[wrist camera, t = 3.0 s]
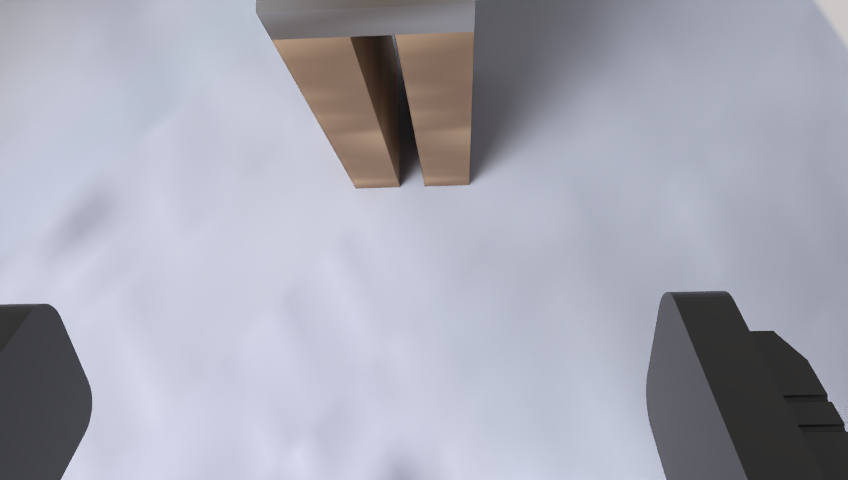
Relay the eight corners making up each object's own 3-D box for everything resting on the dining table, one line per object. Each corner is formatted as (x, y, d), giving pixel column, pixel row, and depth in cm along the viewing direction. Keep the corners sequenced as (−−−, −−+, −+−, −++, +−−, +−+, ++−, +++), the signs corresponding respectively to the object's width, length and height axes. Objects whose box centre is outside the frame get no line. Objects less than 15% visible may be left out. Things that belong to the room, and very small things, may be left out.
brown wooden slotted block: (355, 188, 23) (256, 11, 12) (355, 70, 24) (261, -200, 13) (469, 184, 23) (475, 3, 12) (465, 66, 24) (468, -211, 13)
